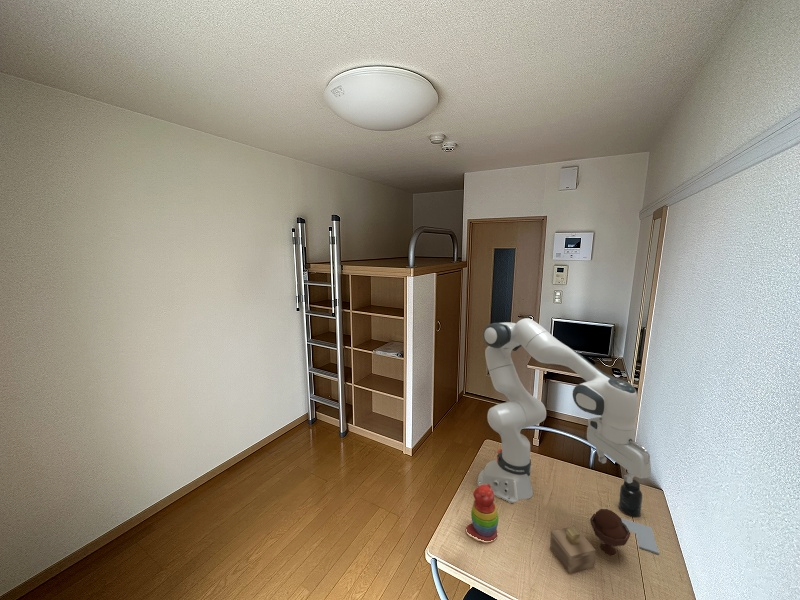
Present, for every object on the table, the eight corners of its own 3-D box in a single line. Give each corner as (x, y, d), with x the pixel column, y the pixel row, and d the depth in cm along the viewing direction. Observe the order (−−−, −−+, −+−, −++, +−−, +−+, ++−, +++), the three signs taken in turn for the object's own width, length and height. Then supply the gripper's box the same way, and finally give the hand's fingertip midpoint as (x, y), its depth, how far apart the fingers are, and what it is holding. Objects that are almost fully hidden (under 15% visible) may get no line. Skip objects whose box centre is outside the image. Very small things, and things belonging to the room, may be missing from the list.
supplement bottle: (644, 519, 118) (647, 489, 116) (623, 516, 119) (626, 487, 117) (634, 504, 124) (637, 477, 123) (615, 502, 126) (617, 475, 124)
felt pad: (618, 541, 109) (618, 539, 109) (614, 517, 119) (614, 516, 118) (659, 554, 104) (659, 553, 104) (651, 528, 113) (651, 527, 113)
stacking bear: (479, 514, 122) (479, 472, 119) (503, 530, 114) (504, 486, 112) (463, 532, 114) (463, 488, 111) (488, 550, 107) (489, 503, 104)
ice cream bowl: (629, 573, 98) (633, 530, 96) (587, 556, 104) (590, 515, 102) (627, 546, 107) (630, 506, 105) (588, 532, 113) (591, 494, 111)
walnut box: (569, 576, 98) (570, 559, 97) (550, 550, 106) (550, 534, 106) (594, 569, 100) (595, 553, 99) (573, 544, 108) (573, 528, 107)
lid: (570, 559, 97) (571, 547, 96) (550, 534, 106) (551, 522, 105) (595, 553, 99) (596, 540, 98) (573, 528, 107) (574, 517, 107)
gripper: (658, 449, 90) (654, 493, 92) (599, 414, 110) (597, 451, 112) (640, 452, 89) (636, 497, 91) (584, 417, 109) (582, 453, 111)
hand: (614, 471), depth 102 cm, fingers open, 8 cm apart
